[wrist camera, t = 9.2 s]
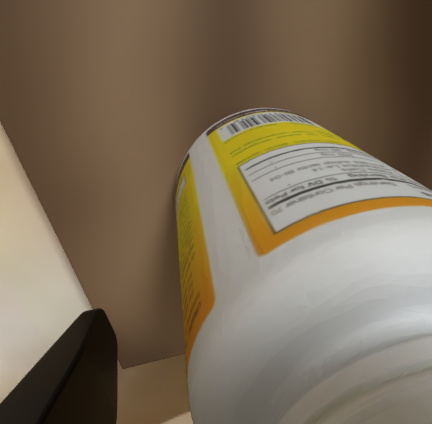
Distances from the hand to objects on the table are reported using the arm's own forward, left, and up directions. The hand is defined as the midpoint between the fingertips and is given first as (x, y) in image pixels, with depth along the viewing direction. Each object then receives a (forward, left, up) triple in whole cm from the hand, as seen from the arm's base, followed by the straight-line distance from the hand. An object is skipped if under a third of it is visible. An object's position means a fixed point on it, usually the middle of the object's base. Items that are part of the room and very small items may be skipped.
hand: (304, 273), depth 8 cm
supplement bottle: (0, 0, -5) cm, 5 cm away
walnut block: (0, 0, -7) cm, 7 cm away
